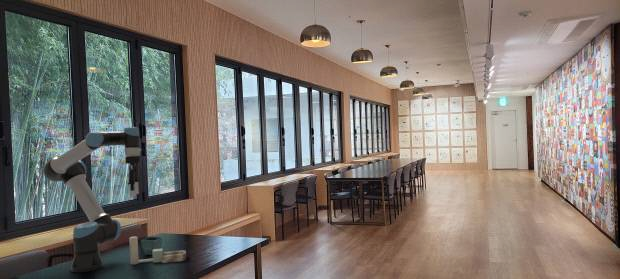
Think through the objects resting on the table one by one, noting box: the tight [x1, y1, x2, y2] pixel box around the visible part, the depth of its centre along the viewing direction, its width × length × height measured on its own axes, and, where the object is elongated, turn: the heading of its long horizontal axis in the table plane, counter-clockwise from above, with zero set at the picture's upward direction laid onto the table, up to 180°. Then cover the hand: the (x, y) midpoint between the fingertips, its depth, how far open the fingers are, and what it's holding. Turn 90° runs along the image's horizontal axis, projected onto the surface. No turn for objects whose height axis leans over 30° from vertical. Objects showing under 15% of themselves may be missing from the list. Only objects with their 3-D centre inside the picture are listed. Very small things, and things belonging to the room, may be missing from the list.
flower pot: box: [140, 236, 163, 256], centre depth 264 cm, size 9×9×9 cm
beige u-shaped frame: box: [161, 249, 187, 264], centre depth 249 cm, size 12×9×4 cm
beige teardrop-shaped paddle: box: [129, 236, 164, 265], centre depth 245 cm, size 16×5×14 cm, turn 104°
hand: (134, 195), depth 244 cm, fingers open, 13 cm apart
